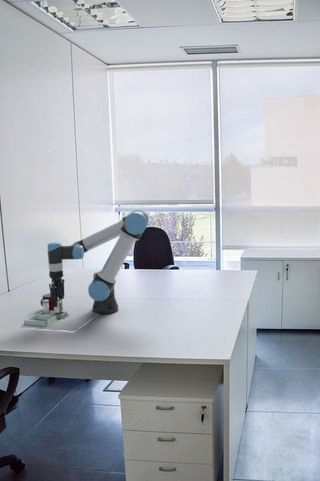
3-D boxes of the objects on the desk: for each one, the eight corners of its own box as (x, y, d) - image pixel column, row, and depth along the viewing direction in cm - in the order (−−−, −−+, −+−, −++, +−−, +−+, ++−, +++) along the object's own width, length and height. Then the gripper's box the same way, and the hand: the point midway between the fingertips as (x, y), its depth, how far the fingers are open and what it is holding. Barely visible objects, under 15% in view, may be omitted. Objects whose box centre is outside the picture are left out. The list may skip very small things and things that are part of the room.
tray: (57, 321, 261) (56, 315, 261) (47, 327, 251) (46, 321, 251) (35, 320, 265) (34, 314, 265) (24, 326, 255) (24, 320, 255)
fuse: (50, 315, 271) (49, 299, 269) (47, 316, 267) (46, 301, 266) (45, 314, 272) (44, 299, 270) (42, 316, 268) (40, 301, 267)
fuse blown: (63, 315, 268) (62, 300, 267) (60, 317, 265) (59, 302, 264) (57, 315, 269) (56, 300, 268) (54, 317, 266) (53, 301, 265)
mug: (37, 313, 279) (36, 296, 278) (44, 309, 287) (43, 293, 285) (53, 314, 276) (52, 297, 275) (59, 310, 284) (58, 293, 282)
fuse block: (70, 316, 269) (70, 311, 269) (63, 321, 262) (63, 315, 262) (42, 315, 275) (42, 310, 274) (35, 319, 267) (34, 314, 267)
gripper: (57, 267, 272) (60, 306, 276) (42, 273, 257) (45, 315, 260) (69, 267, 270) (71, 307, 273) (54, 273, 254) (57, 316, 258)
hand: (58, 311), depth 267 cm, fingers closed on fuse blown, 3 cm apart
